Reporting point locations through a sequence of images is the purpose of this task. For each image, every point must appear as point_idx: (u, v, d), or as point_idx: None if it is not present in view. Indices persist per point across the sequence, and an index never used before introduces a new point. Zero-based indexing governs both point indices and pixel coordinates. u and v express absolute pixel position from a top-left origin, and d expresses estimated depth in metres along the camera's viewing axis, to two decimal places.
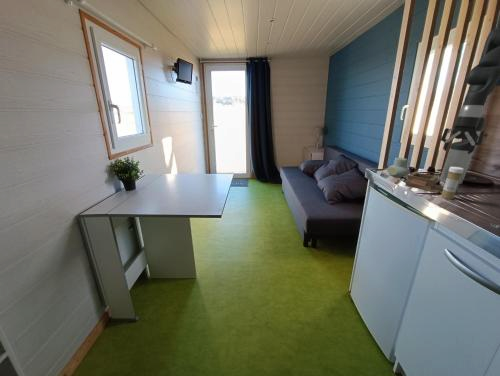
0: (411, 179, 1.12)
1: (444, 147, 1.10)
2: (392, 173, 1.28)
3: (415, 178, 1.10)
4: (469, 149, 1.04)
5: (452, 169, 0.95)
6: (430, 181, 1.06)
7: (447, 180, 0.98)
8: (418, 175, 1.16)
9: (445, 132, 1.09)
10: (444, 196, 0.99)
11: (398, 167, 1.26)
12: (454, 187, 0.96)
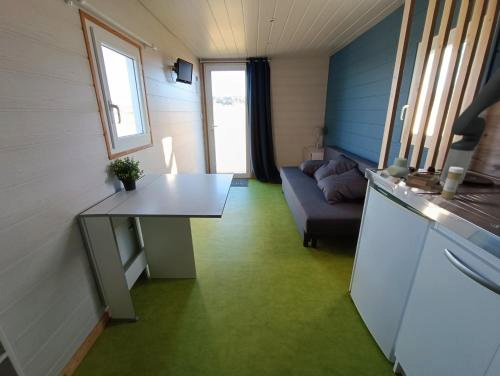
0: (411, 179, 1.12)
1: None
2: (392, 173, 1.28)
3: (415, 178, 1.10)
4: None
5: (452, 169, 0.95)
6: (430, 181, 1.06)
7: (447, 180, 0.98)
8: (418, 175, 1.16)
9: None
10: (444, 196, 0.99)
11: (398, 167, 1.26)
12: (454, 187, 0.96)
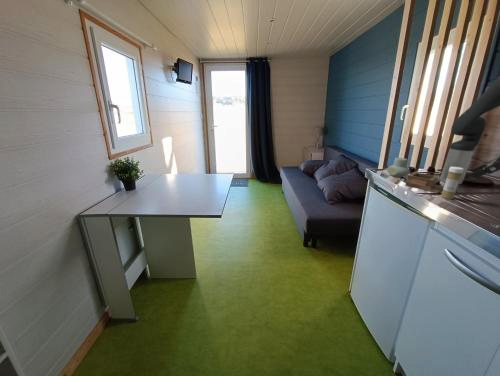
0: (411, 179, 1.12)
1: (478, 176, 0.88)
2: (392, 173, 1.28)
3: (415, 178, 1.10)
4: None
5: (452, 169, 0.95)
6: (430, 181, 1.06)
7: (447, 180, 0.98)
8: (418, 175, 1.16)
9: None
10: (444, 196, 0.99)
11: (398, 167, 1.26)
12: (454, 187, 0.96)
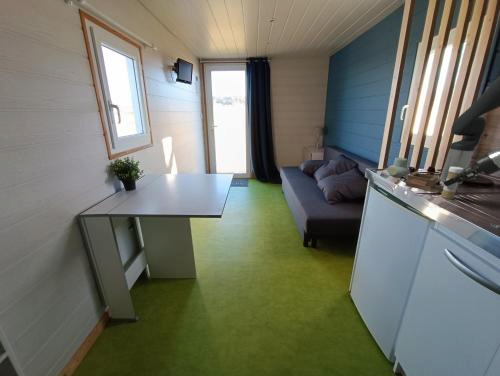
0: (411, 179, 1.12)
1: (449, 184, 0.96)
2: (392, 173, 1.28)
3: (415, 178, 1.10)
4: None
5: (452, 169, 0.95)
6: (430, 181, 1.06)
7: None
8: (418, 175, 1.16)
9: (469, 178, 0.90)
10: (444, 196, 0.99)
11: (398, 167, 1.26)
12: (454, 187, 0.96)
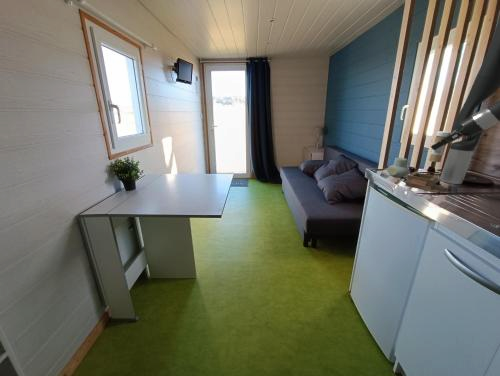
0: (411, 179, 1.12)
1: (436, 147, 1.02)
2: (392, 173, 1.28)
3: (415, 178, 1.10)
4: None
5: (439, 133, 1.01)
6: (430, 181, 1.06)
7: None
8: (418, 175, 1.16)
9: (454, 139, 0.95)
10: (432, 160, 1.05)
11: (398, 167, 1.26)
12: (441, 150, 1.02)
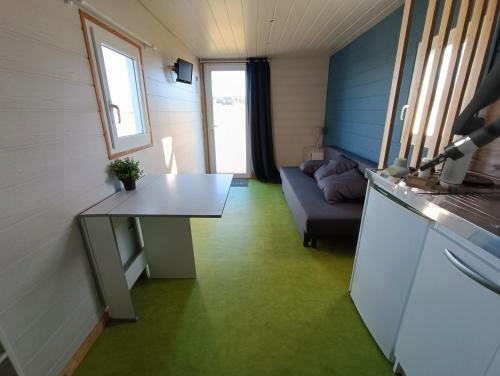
0: (411, 179, 1.12)
1: (424, 169, 1.07)
2: (392, 173, 1.28)
3: (415, 178, 1.10)
4: None
5: (424, 159, 1.08)
6: (430, 181, 1.06)
7: None
8: None
9: (441, 162, 1.01)
10: None
11: (398, 167, 1.26)
12: (426, 175, 1.09)
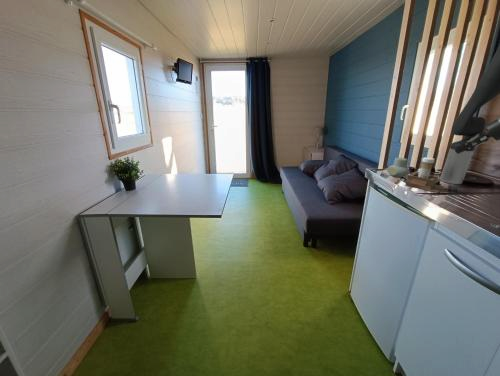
0: (411, 179, 1.12)
1: (461, 151, 0.95)
2: (392, 173, 1.28)
3: (415, 178, 1.10)
4: None
5: (424, 159, 1.08)
6: (430, 181, 1.06)
7: (420, 169, 1.11)
8: None
9: (482, 142, 0.89)
10: None
11: (398, 167, 1.26)
12: (426, 175, 1.09)
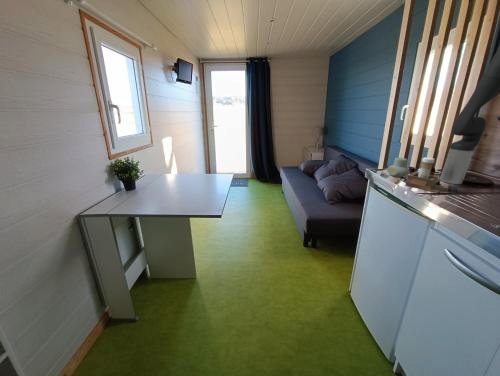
0: (411, 179, 1.12)
1: None
2: (392, 173, 1.28)
3: (415, 178, 1.10)
4: None
5: (424, 159, 1.08)
6: (430, 181, 1.06)
7: (420, 169, 1.11)
8: None
9: None
10: None
11: (398, 167, 1.26)
12: (426, 175, 1.09)
